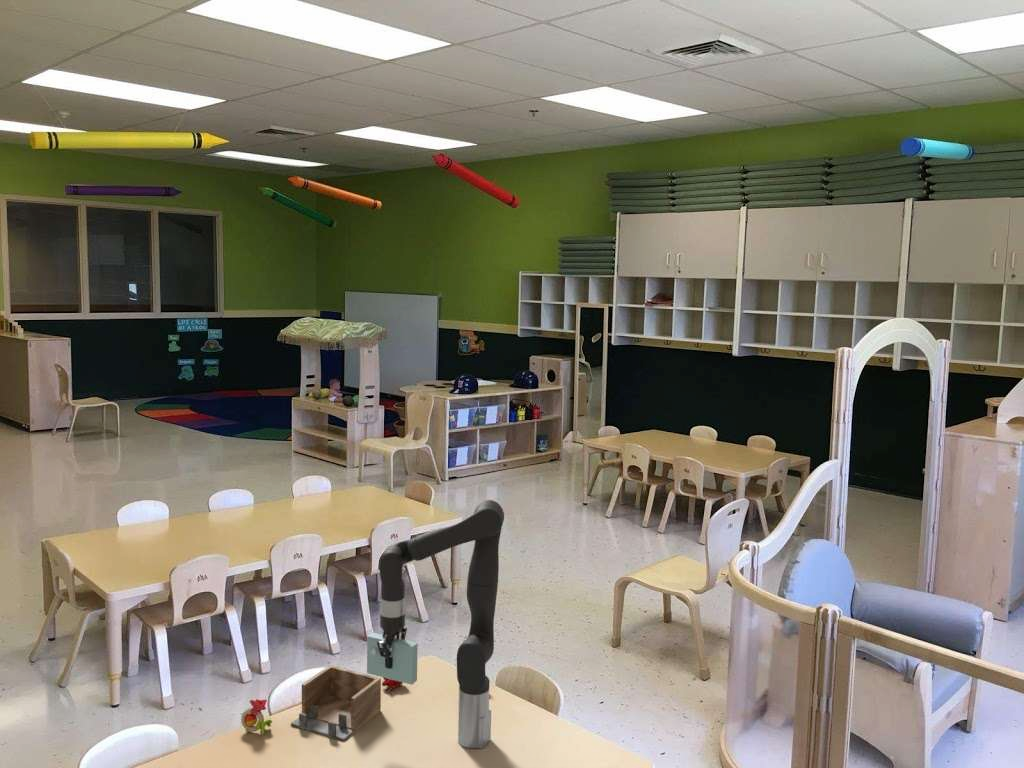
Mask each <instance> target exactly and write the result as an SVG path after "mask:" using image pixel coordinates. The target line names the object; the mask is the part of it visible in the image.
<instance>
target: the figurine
mask: <svg viewBox="0 0 1024 768" xmlns="http://www.w3.org/2000/svg"><path fill="white" fill-rule="evenodd" d="M382 678H383V681H382V682H381V687H386V686H387V689H388V691H389V692H390V691H391V690H393V688H394V687H400V686H402V685H403V684H404V683H403V682H399V681H395V680H391V679H388V678H384V677H382Z"/></svg>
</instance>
